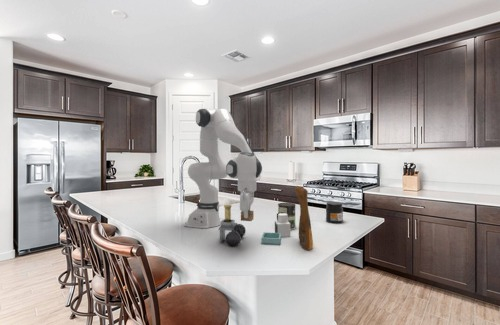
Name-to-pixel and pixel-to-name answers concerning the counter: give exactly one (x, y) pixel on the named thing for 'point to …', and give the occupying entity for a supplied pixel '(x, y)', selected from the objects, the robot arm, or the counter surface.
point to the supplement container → (334, 212)
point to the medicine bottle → (282, 224)
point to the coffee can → (288, 212)
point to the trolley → (234, 235)
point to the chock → (250, 216)
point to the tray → (271, 238)
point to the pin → (227, 213)
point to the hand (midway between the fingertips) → (247, 216)
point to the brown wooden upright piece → (304, 219)
